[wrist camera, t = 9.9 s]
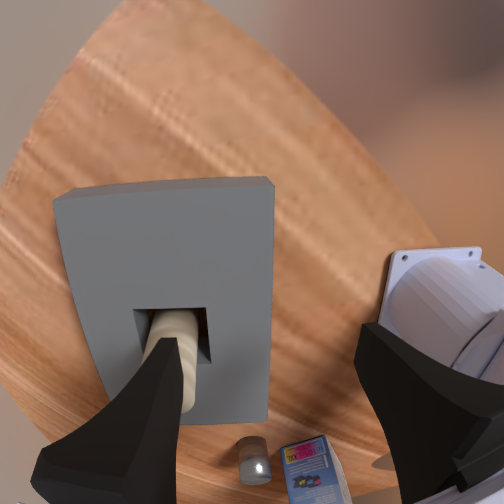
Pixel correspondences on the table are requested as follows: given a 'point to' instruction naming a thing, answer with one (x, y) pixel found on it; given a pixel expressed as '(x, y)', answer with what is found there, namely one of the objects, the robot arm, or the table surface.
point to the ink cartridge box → (314, 473)
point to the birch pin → (179, 343)
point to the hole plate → (177, 281)
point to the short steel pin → (253, 461)
